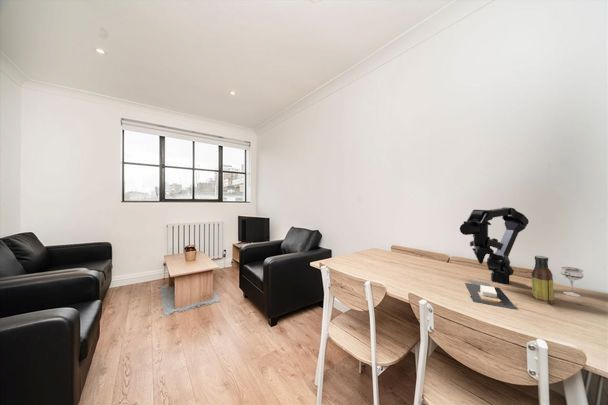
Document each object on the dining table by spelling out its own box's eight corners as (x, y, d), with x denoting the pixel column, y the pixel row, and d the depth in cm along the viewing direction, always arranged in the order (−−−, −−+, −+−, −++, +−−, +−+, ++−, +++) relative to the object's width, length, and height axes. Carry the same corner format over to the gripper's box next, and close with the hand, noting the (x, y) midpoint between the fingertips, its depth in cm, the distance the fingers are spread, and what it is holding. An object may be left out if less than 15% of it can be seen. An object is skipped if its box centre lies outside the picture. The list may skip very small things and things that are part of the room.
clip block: (493, 292, 99) (494, 287, 98) (496, 299, 95) (496, 294, 94) (480, 290, 101) (480, 285, 100) (482, 297, 97) (482, 291, 96)
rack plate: (499, 289, 104) (499, 287, 104) (515, 309, 86) (515, 306, 86) (464, 284, 111) (464, 282, 111) (472, 301, 93) (472, 298, 93)
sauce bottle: (546, 298, 95) (546, 255, 94) (558, 305, 89) (558, 259, 88) (528, 296, 97) (528, 254, 96) (537, 303, 91) (538, 258, 90)
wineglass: (581, 293, 99) (581, 268, 98) (585, 299, 94) (585, 272, 93) (558, 289, 103) (559, 265, 103) (561, 294, 98) (562, 269, 98)
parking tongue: (488, 284, 111) (488, 282, 111) (491, 288, 106) (491, 286, 106) (469, 281, 115) (469, 280, 114) (471, 285, 110) (471, 283, 110)
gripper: (508, 238, 96) (508, 271, 96) (495, 232, 112) (495, 260, 113) (477, 236, 101) (477, 268, 102) (469, 230, 118) (469, 258, 118)
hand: (480, 263), depth 108 cm, fingers closed
